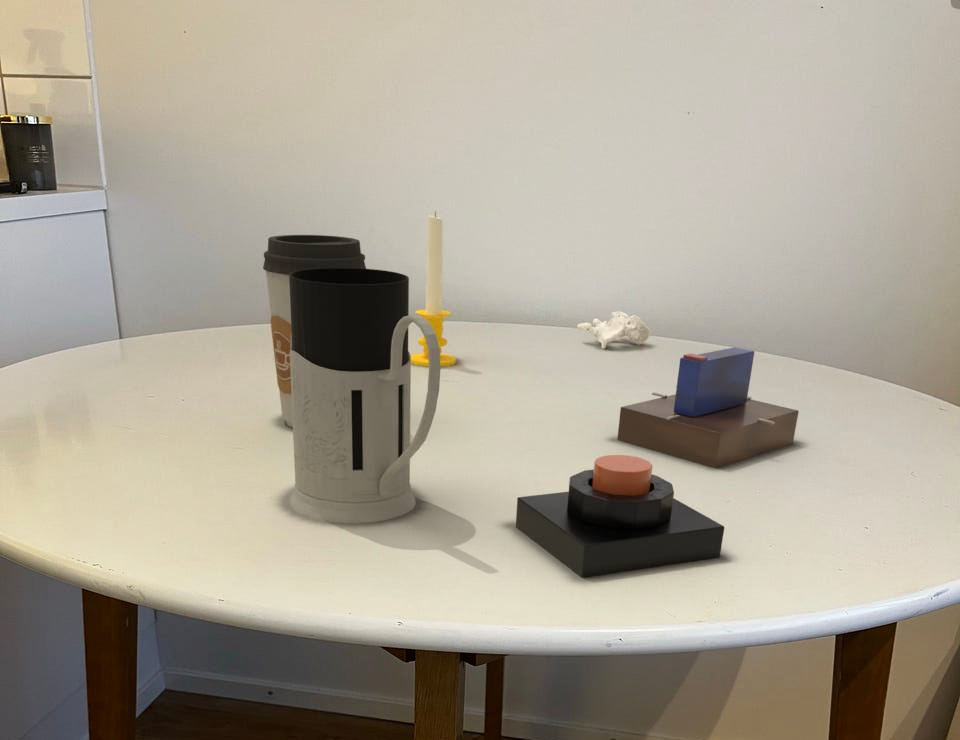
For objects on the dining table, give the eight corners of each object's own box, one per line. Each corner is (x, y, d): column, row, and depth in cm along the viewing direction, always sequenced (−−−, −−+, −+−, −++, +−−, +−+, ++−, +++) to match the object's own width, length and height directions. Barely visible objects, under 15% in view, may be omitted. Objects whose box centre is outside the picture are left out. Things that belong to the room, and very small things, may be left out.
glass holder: (374, 475, 76) (372, 264, 69) (488, 534, 66) (499, 294, 59) (267, 494, 71) (254, 269, 65) (372, 561, 61) (370, 303, 55)
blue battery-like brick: (727, 399, 90) (735, 344, 88) (746, 403, 88) (755, 348, 86) (673, 412, 85) (680, 354, 82) (692, 417, 83) (700, 359, 81)
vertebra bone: (621, 307, 129) (660, 310, 124) (620, 342, 130) (657, 346, 125) (574, 310, 124) (612, 314, 119) (573, 346, 126) (610, 351, 121)
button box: (642, 512, 71) (649, 457, 69) (719, 559, 64) (729, 498, 62) (515, 528, 67) (518, 470, 66) (581, 580, 60) (587, 516, 58)
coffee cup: (253, 419, 89) (242, 235, 82) (334, 407, 94) (330, 232, 87) (303, 442, 83) (296, 247, 76) (386, 427, 88) (386, 243, 81)
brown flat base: (688, 417, 96) (693, 383, 94) (804, 447, 88) (811, 411, 87) (606, 438, 88) (609, 402, 86) (725, 473, 80) (731, 434, 79)
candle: (456, 358, 115) (461, 210, 108) (454, 368, 110) (459, 213, 103) (410, 356, 115) (412, 207, 108) (406, 366, 110) (408, 211, 103)
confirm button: (629, 478, 66) (632, 452, 65) (660, 495, 63) (663, 468, 63) (581, 484, 65) (584, 457, 64) (610, 501, 62) (613, 474, 61)
